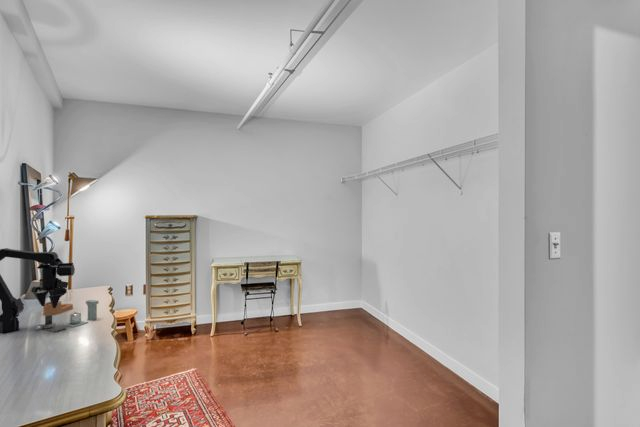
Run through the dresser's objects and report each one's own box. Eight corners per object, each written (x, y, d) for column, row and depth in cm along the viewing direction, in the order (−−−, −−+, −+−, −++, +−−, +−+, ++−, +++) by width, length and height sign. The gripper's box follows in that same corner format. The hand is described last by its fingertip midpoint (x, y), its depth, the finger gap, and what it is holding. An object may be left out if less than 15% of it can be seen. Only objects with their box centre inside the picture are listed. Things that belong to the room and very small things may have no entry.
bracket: (54, 316, 194) (54, 304, 194) (39, 316, 194) (39, 304, 194) (75, 307, 212) (75, 297, 212) (62, 308, 212) (62, 297, 212)
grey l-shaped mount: (72, 327, 174) (72, 307, 174) (62, 325, 177) (62, 306, 177) (99, 319, 188) (99, 300, 188) (90, 318, 191) (90, 299, 191)
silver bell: (73, 325, 176) (73, 314, 176) (67, 324, 178) (67, 313, 178) (82, 322, 181) (82, 311, 181) (76, 321, 183) (77, 310, 183)
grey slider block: (38, 330, 166) (38, 319, 166) (33, 329, 167) (33, 318, 167) (55, 325, 173) (55, 314, 173) (50, 325, 175) (50, 314, 175)
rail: (55, 333, 166) (55, 328, 166) (38, 329, 171) (38, 325, 171) (66, 329, 171) (66, 325, 171) (49, 326, 176) (49, 322, 176)
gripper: (77, 275, 176) (77, 305, 176) (54, 273, 183) (54, 301, 183) (54, 279, 166) (53, 310, 166) (31, 276, 173) (30, 306, 173)
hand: (48, 307), depth 172 cm, fingers open, 9 cm apart
